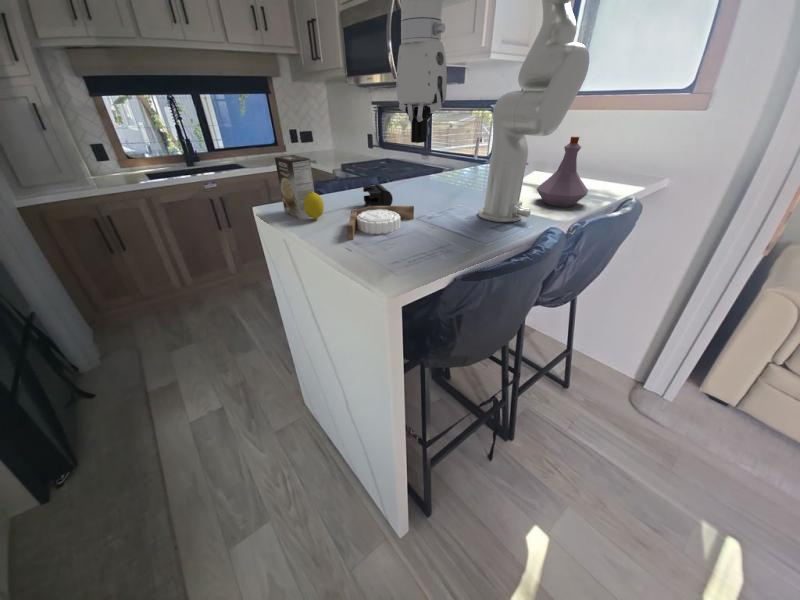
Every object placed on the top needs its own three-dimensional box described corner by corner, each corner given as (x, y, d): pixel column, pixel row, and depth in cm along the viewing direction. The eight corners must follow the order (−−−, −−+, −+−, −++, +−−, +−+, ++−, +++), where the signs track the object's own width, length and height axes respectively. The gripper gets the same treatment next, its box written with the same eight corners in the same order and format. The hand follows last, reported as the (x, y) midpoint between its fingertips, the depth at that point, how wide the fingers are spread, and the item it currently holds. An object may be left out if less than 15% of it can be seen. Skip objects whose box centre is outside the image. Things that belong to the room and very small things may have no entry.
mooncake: (409, 228, 90) (409, 215, 88) (373, 238, 83) (372, 224, 82) (383, 217, 98) (383, 205, 96) (348, 225, 91) (347, 213, 90)
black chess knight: (393, 211, 103) (392, 189, 99) (371, 213, 101) (370, 190, 97) (384, 202, 111) (383, 182, 107) (363, 204, 109) (362, 183, 105)
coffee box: (283, 213, 101) (273, 156, 92) (301, 208, 105) (293, 154, 96) (300, 219, 95) (290, 160, 87) (318, 214, 99) (311, 157, 91)
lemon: (308, 223, 92) (304, 194, 88) (304, 218, 96) (299, 190, 92) (327, 220, 94) (324, 192, 90) (322, 215, 99) (318, 188, 94)
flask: (549, 194, 120) (564, 133, 110) (595, 204, 109) (615, 137, 98) (523, 201, 112) (535, 136, 101) (569, 213, 100) (588, 141, 90)
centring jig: (415, 218, 96) (415, 206, 95) (350, 240, 82) (349, 226, 80) (392, 211, 102) (391, 199, 100) (327, 230, 87) (325, 217, 86)
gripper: (465, 32, 60) (456, 143, 69) (405, 40, 68) (405, 138, 78) (440, 27, 55) (434, 146, 65) (379, 37, 64) (382, 141, 73)
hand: (418, 141), depth 71 cm, fingers closed
